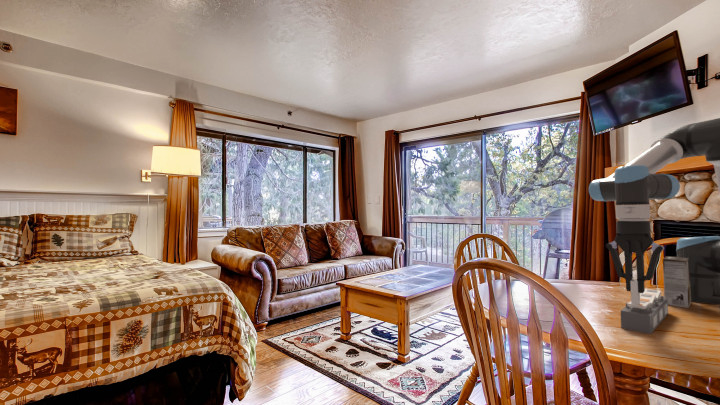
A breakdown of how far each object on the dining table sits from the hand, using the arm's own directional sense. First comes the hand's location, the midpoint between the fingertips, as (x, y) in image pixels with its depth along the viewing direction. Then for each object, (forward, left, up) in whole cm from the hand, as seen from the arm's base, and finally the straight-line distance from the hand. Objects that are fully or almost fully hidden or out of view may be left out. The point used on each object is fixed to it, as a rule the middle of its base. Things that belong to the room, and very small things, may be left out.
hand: (635, 303), depth 94 cm
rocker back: (-20, 0, -1) cm, 20 cm away
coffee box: (-42, +4, -8) cm, 43 cm away
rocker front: (-3, 0, -1) cm, 4 cm away
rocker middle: (-12, 0, -1) cm, 12 cm away
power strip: (-12, 0, -7) cm, 14 cm away
